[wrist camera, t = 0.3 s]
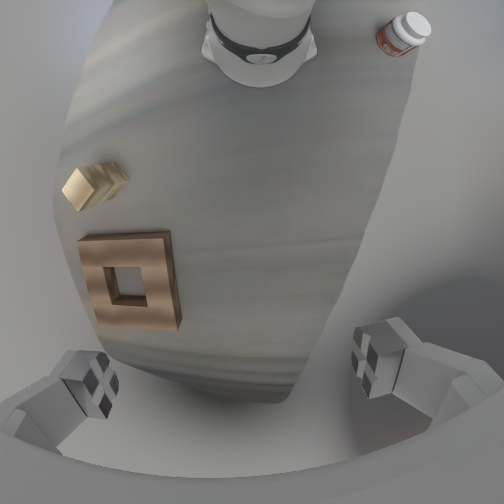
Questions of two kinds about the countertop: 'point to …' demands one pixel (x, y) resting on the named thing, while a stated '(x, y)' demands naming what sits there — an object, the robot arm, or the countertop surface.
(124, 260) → the socket block
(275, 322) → the countertop surface
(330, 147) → the countertop surface
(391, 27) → the pill bottle
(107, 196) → the maple peg
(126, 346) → the countertop surface
